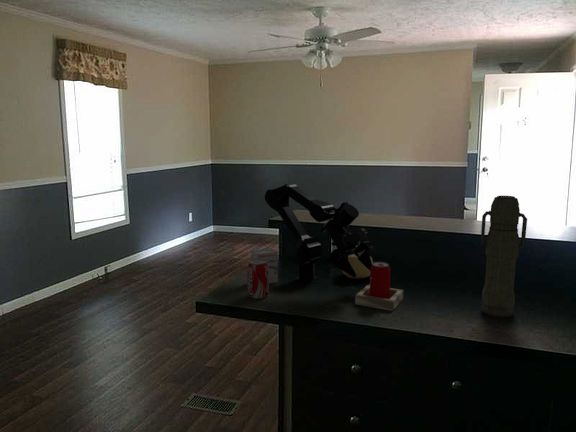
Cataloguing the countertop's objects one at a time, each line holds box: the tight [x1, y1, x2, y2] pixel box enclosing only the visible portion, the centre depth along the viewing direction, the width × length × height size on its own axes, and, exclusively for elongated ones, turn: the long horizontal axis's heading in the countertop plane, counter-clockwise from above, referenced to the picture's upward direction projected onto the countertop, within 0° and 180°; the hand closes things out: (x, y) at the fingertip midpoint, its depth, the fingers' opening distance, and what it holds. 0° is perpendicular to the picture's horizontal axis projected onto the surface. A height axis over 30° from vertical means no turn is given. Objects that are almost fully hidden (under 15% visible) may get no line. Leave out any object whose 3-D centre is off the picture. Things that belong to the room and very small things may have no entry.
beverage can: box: [369, 261, 391, 299], centre depth 150 cm, size 6×6×12 cm
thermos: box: [480, 195, 528, 318], centre depth 139 cm, size 9×12×35 cm
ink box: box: [250, 248, 279, 284], centre depth 170 cm, size 9×5×12 cm, turn 117°
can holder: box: [354, 284, 404, 312], centre depth 151 cm, size 12×12×3 cm
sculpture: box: [341, 251, 374, 279], centre depth 177 cm, size 12×12×11 cm
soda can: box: [246, 259, 270, 300], centre depth 155 cm, size 7×7×12 cm
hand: (364, 273), depth 154 cm, fingers open, 9 cm apart
